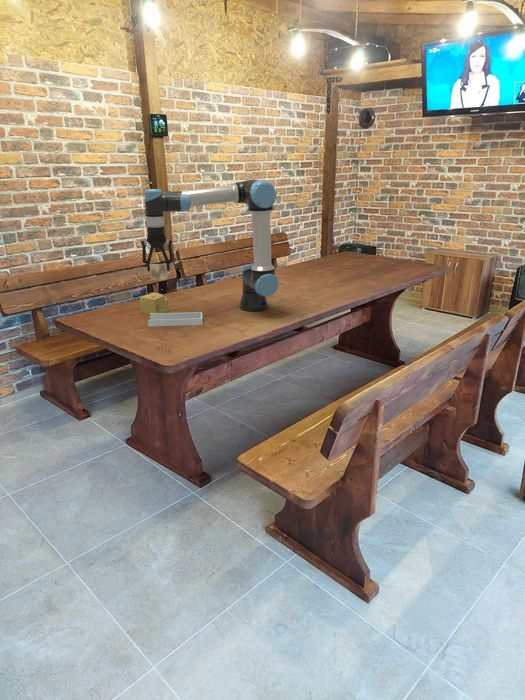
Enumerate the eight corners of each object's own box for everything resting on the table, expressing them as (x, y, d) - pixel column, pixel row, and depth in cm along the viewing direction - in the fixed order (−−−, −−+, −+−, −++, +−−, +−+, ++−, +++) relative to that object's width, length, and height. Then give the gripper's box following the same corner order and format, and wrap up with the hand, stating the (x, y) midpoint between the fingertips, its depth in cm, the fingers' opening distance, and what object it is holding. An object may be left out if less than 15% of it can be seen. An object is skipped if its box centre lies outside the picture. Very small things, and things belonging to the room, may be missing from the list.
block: (165, 264, 224) (152, 264, 224) (164, 266, 219) (151, 266, 218) (166, 276, 226) (153, 277, 226) (165, 279, 221) (151, 280, 220)
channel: (202, 320, 239) (202, 312, 237) (202, 327, 229) (202, 318, 227) (150, 322, 236) (149, 313, 234) (148, 329, 226) (147, 320, 224)
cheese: (169, 313, 250) (168, 294, 246) (155, 319, 241) (154, 299, 237) (154, 310, 255) (153, 291, 251) (139, 315, 246) (138, 296, 242)
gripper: (177, 224, 219) (180, 275, 228) (134, 225, 217) (138, 276, 226) (177, 227, 213) (180, 279, 221) (132, 227, 210) (137, 280, 219)
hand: (159, 277), depth 223 cm, fingers closed on block, 6 cm apart
